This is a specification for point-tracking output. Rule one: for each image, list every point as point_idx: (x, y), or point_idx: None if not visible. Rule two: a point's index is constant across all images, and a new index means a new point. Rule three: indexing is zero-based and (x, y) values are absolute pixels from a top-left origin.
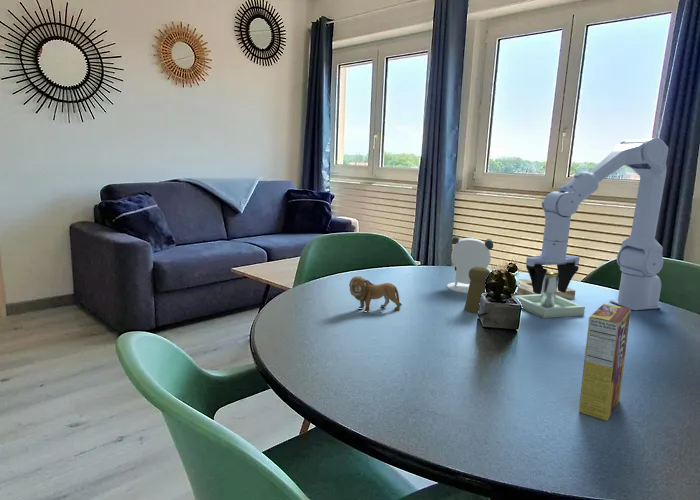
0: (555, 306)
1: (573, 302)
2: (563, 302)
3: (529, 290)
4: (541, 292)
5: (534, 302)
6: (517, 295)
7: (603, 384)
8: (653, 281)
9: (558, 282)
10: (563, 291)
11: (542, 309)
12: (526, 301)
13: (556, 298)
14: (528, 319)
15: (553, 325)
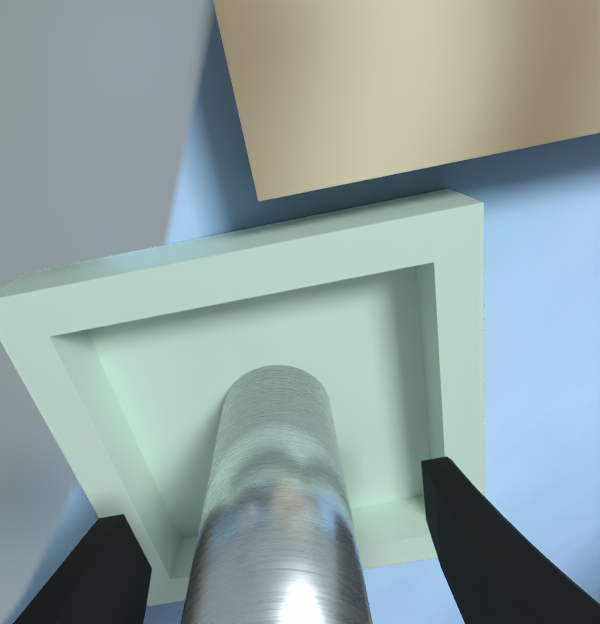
0: (351, 403)
1: (476, 475)
2: (435, 405)
3: (261, 65)
4: (207, 489)
5: (221, 309)
6: (23, 296)
7: None
8: None
9: (460, 538)
10: (431, 531)
11: None
12: (69, 463)
13: (434, 334)
14: (62, 561)
15: (174, 619)
